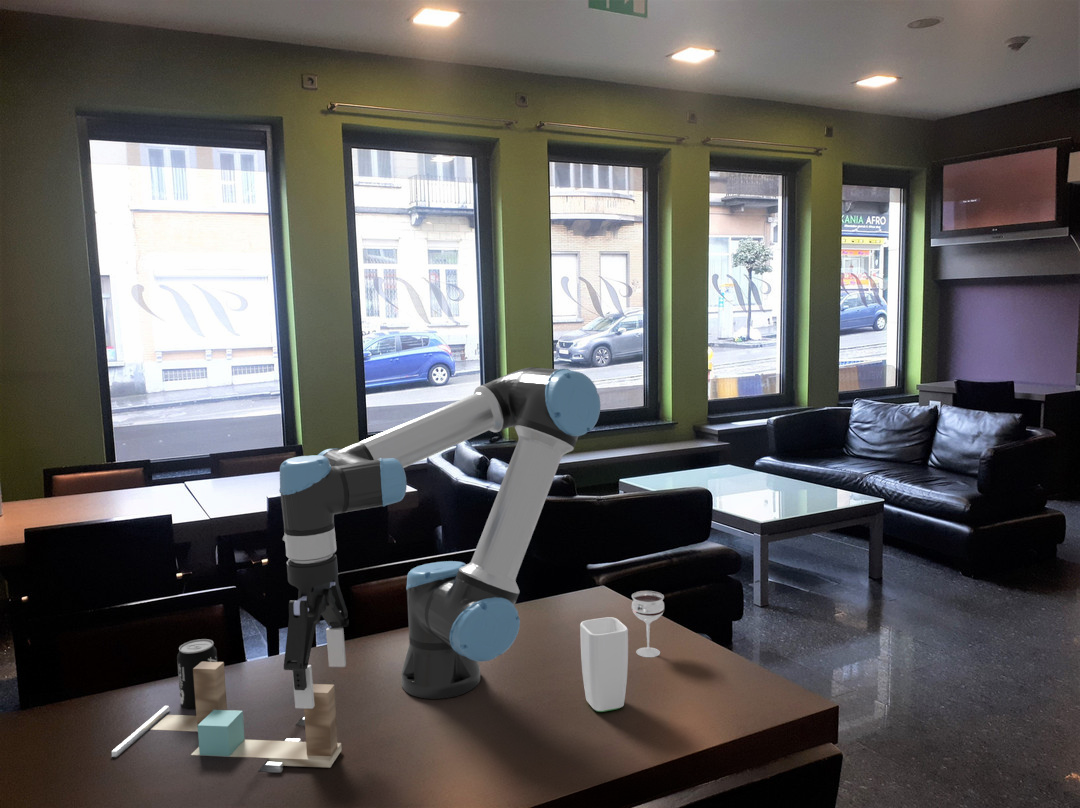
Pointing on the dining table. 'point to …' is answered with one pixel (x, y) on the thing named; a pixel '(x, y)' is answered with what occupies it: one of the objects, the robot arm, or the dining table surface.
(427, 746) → the dining table surface
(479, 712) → the dining table surface
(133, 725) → the dining table surface
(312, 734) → the strip long
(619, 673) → the cup
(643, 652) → the wineglass
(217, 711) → the cube
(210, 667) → the strip short
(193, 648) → the beverage can
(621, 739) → the dining table surface
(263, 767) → the lane rails
